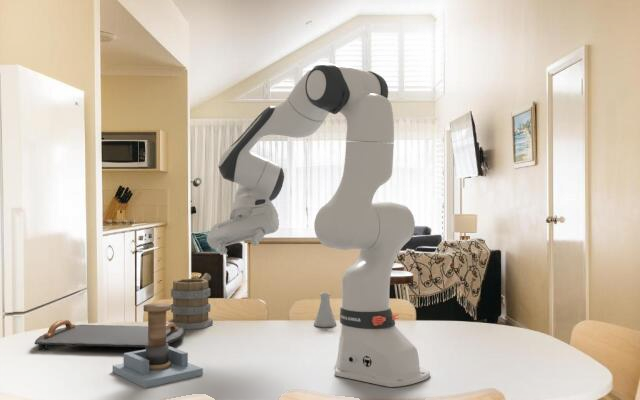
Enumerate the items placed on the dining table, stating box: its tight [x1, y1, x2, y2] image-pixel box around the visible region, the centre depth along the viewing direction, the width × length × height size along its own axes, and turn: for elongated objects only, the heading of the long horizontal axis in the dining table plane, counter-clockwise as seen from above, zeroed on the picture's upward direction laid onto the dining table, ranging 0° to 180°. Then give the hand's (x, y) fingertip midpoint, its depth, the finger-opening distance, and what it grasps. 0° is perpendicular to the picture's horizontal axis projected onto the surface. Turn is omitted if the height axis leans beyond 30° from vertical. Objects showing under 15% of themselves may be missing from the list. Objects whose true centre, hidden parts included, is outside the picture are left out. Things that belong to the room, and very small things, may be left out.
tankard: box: [168, 272, 214, 331], centre depth 195 cm, size 20×13×15 cm, turn 162°
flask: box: [313, 292, 338, 328], centre depth 192 cm, size 7×7×10 cm
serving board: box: [34, 319, 186, 351], centre depth 169 cm, size 39×23×6 cm, turn 84°
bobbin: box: [143, 302, 171, 371], centre depth 139 cm, size 6×6×14 cm
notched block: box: [112, 345, 204, 389], centre depth 139 cm, size 16×14×4 cm
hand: (238, 248), depth 160 cm, fingers open, 8 cm apart
